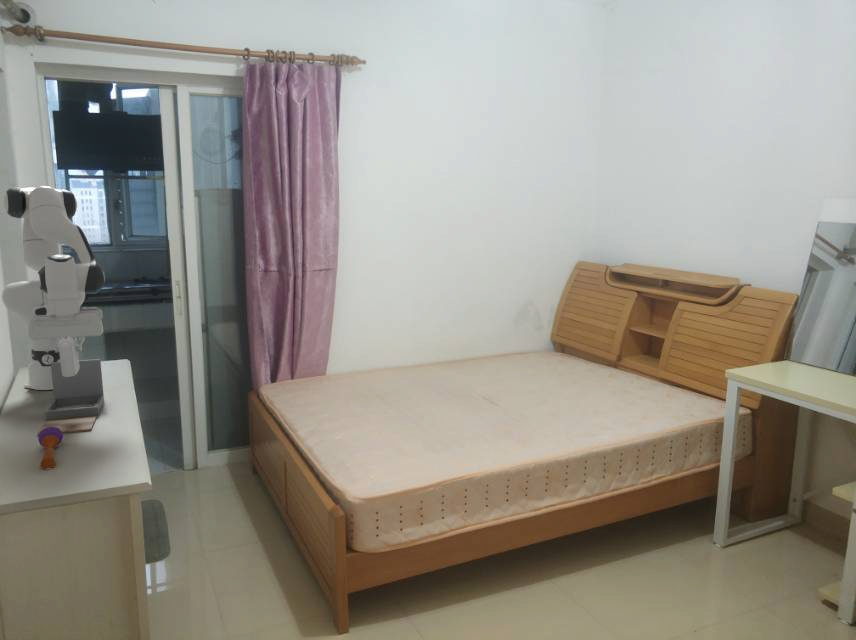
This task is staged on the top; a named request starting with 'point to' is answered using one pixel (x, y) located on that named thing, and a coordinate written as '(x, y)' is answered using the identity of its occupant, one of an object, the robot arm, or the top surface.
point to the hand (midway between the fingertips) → (68, 351)
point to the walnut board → (71, 424)
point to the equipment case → (76, 391)
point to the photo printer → (68, 356)
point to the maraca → (49, 445)
